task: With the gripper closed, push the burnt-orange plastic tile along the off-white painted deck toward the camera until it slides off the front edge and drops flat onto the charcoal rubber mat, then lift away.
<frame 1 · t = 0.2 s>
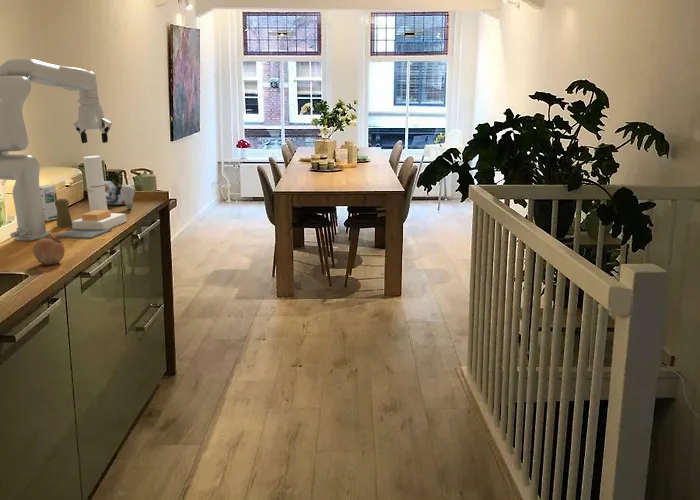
hand: (94, 142, 311), 31 cm above the counter, fingers open, 9 cm apart
tall white block: (99, 214, 316), on the counter
lucky cat figurine: (115, 204, 338), on the counter
mat: (83, 233, 280), on the counter
tile: (96, 218, 290), point 3 cm above the counter, touching deck
lightbulb: (129, 209, 324), on the counter
olive green shaker: (65, 225, 296), on the counter
onion: (50, 264, 239), on the counter
syrup box: (50, 219, 310), on the counter
deck: (100, 225, 293), on the counter
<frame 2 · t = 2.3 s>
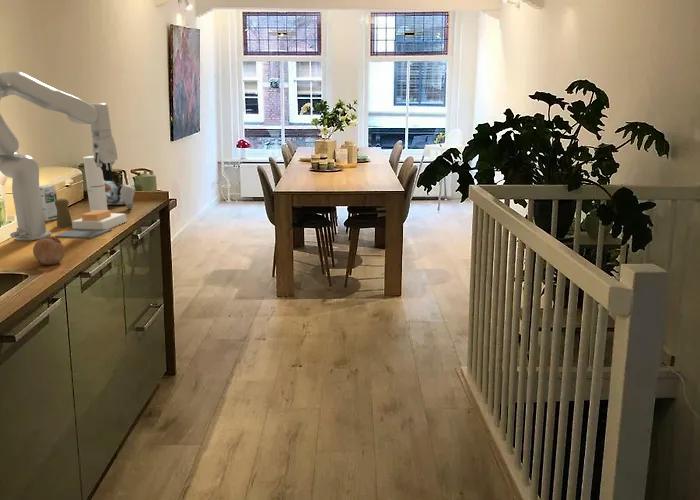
hand: (108, 179, 296), 17 cm above the counter, fingers closed
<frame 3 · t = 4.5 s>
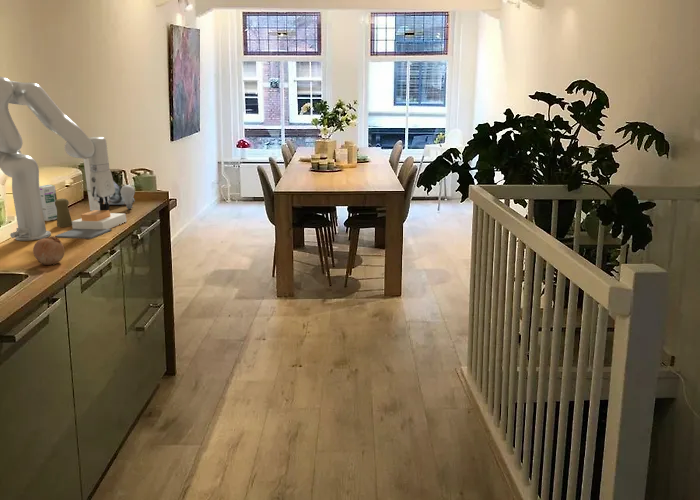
hand: (105, 213, 296), 4 cm above the counter, fingers closed
tile: (96, 218, 290), point 4 cm above the counter, touching deck, gripper
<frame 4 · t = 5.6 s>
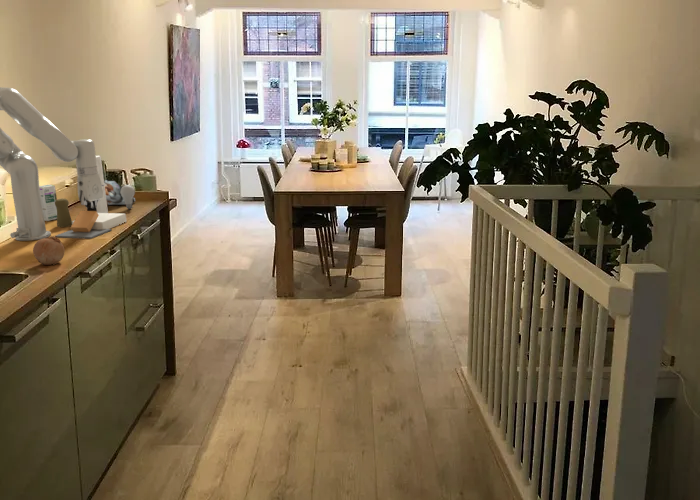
hand: (92, 217, 288), 4 cm above the counter, fingers closed
tile: (86, 223, 283), point 3 cm above the counter, tilted 33°, touching gripper
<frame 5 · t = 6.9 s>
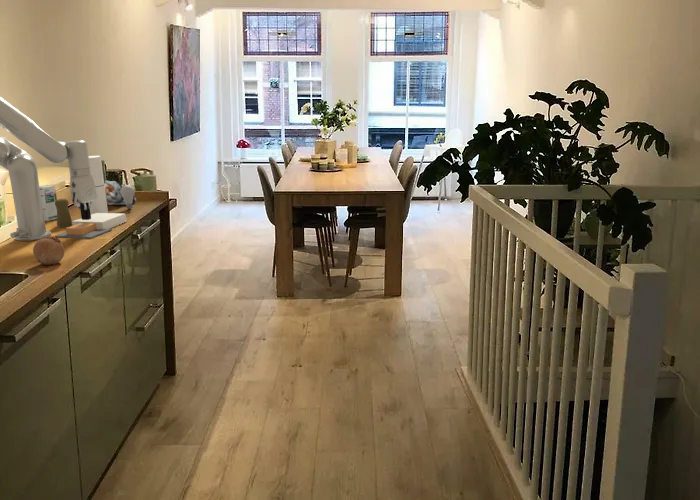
hand: (86, 219, 284), 4 cm above the counter, fingers closed
tile: (81, 231, 281), point 1 cm above the counter, touching mat
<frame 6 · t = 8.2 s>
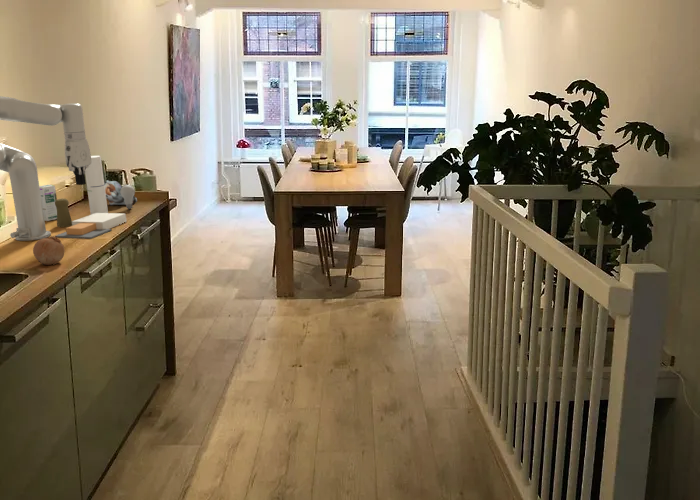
hand: (81, 184, 281), 18 cm above the counter, fingers closed
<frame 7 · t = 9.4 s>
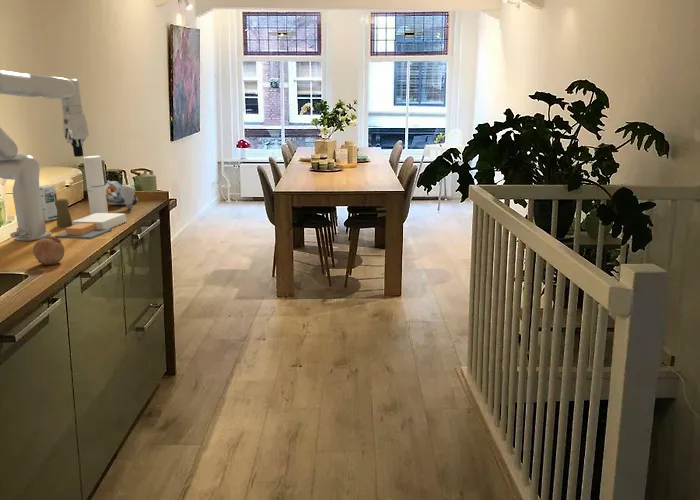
hand: (78, 156, 295), 27 cm above the counter, fingers closed
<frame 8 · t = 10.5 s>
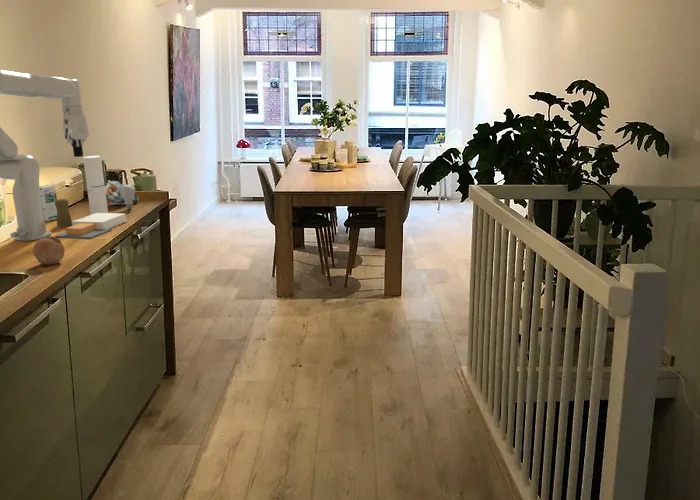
hand: (78, 156, 295), 27 cm above the counter, fingers closed
at the end: tile point 0.6 cm above the counter; tile inside the target area on the mat (1.6 cm from its centre), point 0.6 cm above the mat's base; tile tilted 0° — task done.
